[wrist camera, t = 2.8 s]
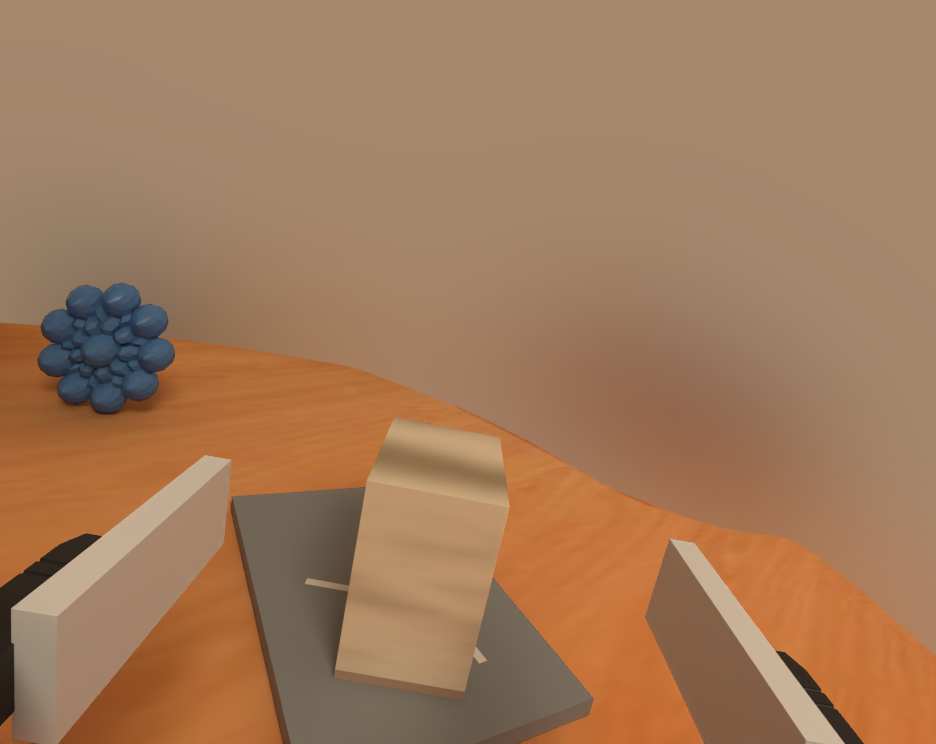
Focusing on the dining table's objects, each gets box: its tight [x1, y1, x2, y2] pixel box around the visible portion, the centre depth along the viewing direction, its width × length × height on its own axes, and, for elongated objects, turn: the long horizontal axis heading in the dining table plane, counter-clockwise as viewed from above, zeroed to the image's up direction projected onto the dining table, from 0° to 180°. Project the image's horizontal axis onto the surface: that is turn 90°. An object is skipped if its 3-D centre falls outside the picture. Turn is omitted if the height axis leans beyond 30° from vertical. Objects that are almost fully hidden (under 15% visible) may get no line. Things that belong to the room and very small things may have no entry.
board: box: [231, 487, 594, 744], centre depth 32 cm, size 22×14×1 cm, turn 29°
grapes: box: [37, 283, 175, 414], centre depth 47 cm, size 12×7×12 cm, turn 87°
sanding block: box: [334, 417, 510, 701], centre depth 27 cm, size 8×6×10 cm
